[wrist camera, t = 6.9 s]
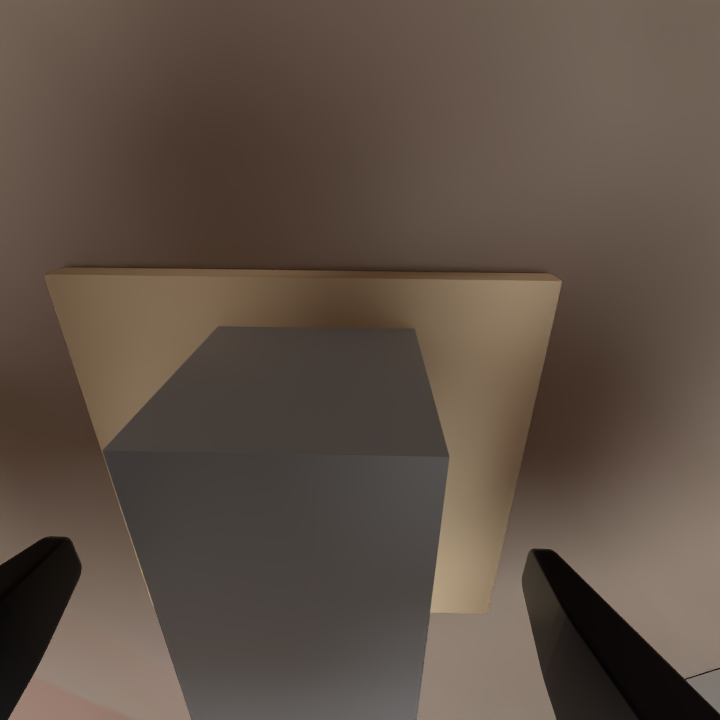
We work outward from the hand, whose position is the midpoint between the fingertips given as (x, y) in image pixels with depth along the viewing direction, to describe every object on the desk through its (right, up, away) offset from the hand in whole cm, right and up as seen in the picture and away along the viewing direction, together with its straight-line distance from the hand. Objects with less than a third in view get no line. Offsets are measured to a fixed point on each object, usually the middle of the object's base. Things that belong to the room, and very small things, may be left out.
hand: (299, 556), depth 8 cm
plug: (-2, -1, 0) cm, 2 cm away
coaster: (0, +1, +2) cm, 3 cm away
